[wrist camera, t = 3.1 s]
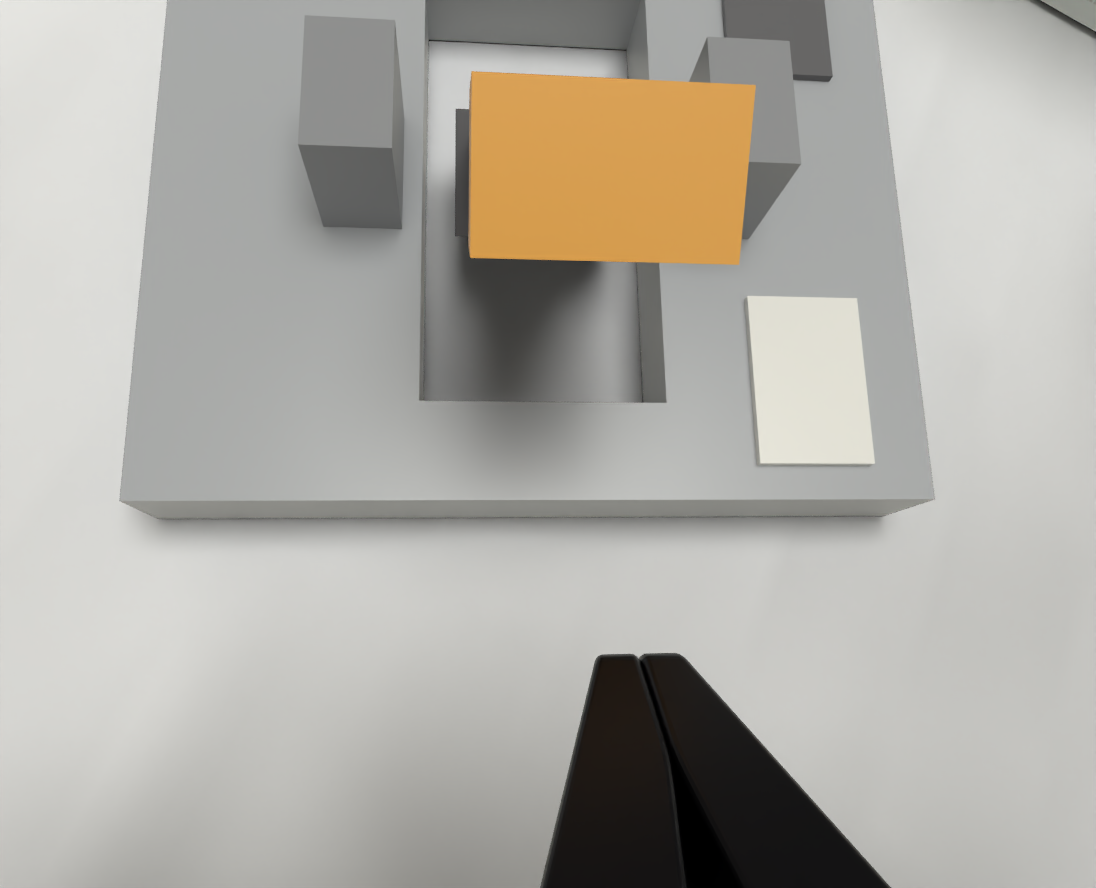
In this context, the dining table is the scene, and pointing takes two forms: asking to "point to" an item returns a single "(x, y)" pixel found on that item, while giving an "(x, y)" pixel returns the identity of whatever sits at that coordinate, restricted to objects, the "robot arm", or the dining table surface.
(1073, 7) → the small box
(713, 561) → the dining table surface
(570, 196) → the lever
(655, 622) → the dining table surface
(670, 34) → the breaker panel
